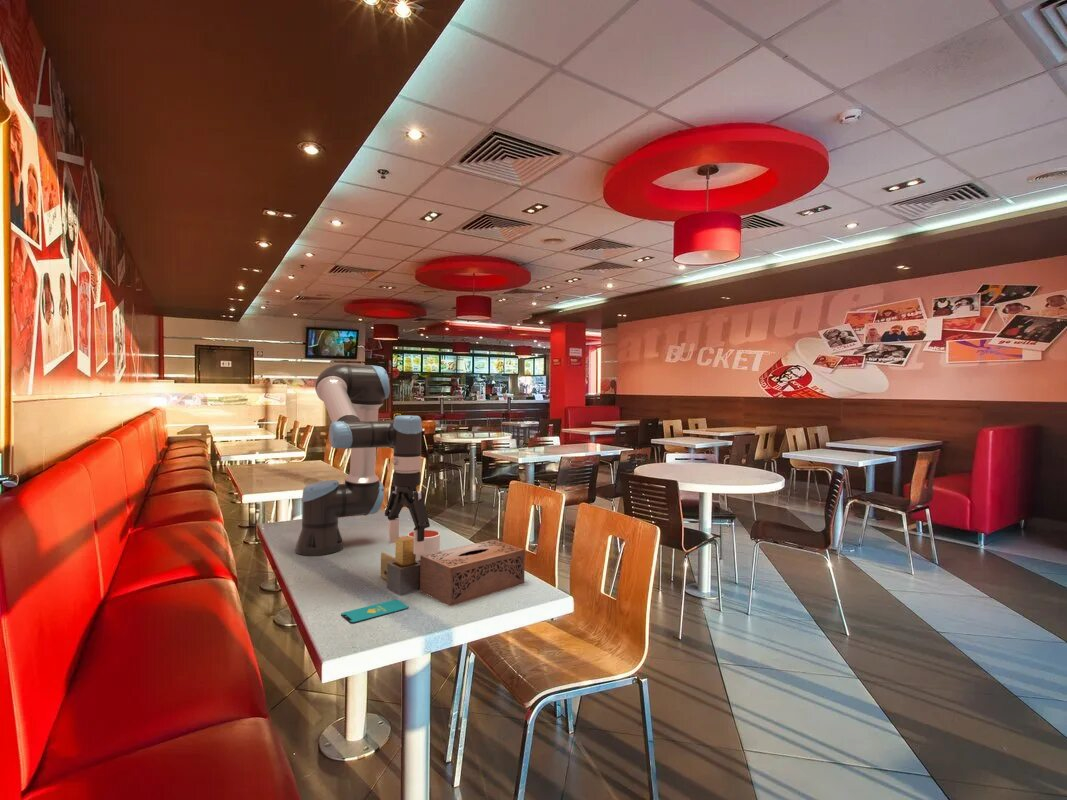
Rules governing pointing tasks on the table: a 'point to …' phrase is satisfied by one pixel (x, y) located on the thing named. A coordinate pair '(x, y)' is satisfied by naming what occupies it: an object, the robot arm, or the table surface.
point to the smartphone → (373, 611)
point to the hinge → (400, 575)
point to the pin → (404, 552)
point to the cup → (429, 542)
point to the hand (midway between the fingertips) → (405, 547)
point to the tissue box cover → (471, 571)
